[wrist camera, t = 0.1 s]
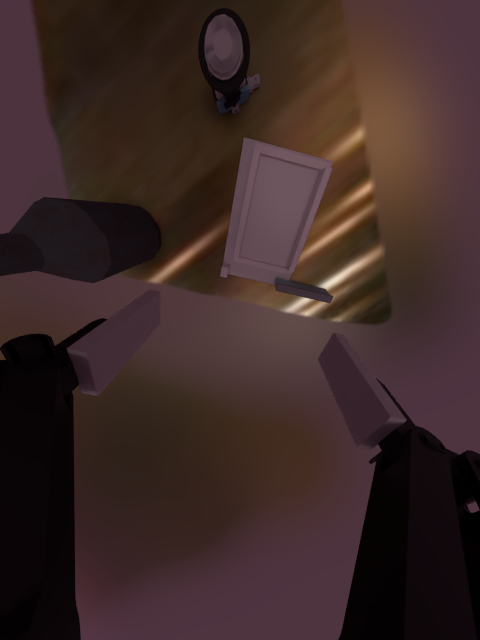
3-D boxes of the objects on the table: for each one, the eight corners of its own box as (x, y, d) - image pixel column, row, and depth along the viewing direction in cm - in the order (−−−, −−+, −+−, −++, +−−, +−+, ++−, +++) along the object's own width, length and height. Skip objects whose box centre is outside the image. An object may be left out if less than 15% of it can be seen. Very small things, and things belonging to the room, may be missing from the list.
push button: (253, 57, 24) (253, -29, 16) (264, 110, 27) (269, 61, 18) (208, 83, 26) (186, 19, 17) (222, 132, 28) (209, 96, 20)
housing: (244, 138, 29) (243, 129, 26) (331, 162, 29) (340, 156, 26) (221, 271, 39) (219, 276, 36) (286, 287, 40) (288, 292, 37)
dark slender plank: (275, 276, 39) (278, 283, 35) (325, 288, 39) (333, 296, 35) (273, 283, 39) (276, 290, 35) (322, 294, 40) (329, 303, 36)
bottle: (100, 220, 36) (-298, 235, 10) (137, 192, 33) (-282, 113, 7) (137, 267, 40) (-76, 364, 14) (171, 246, 37) (-13, 318, 12)
